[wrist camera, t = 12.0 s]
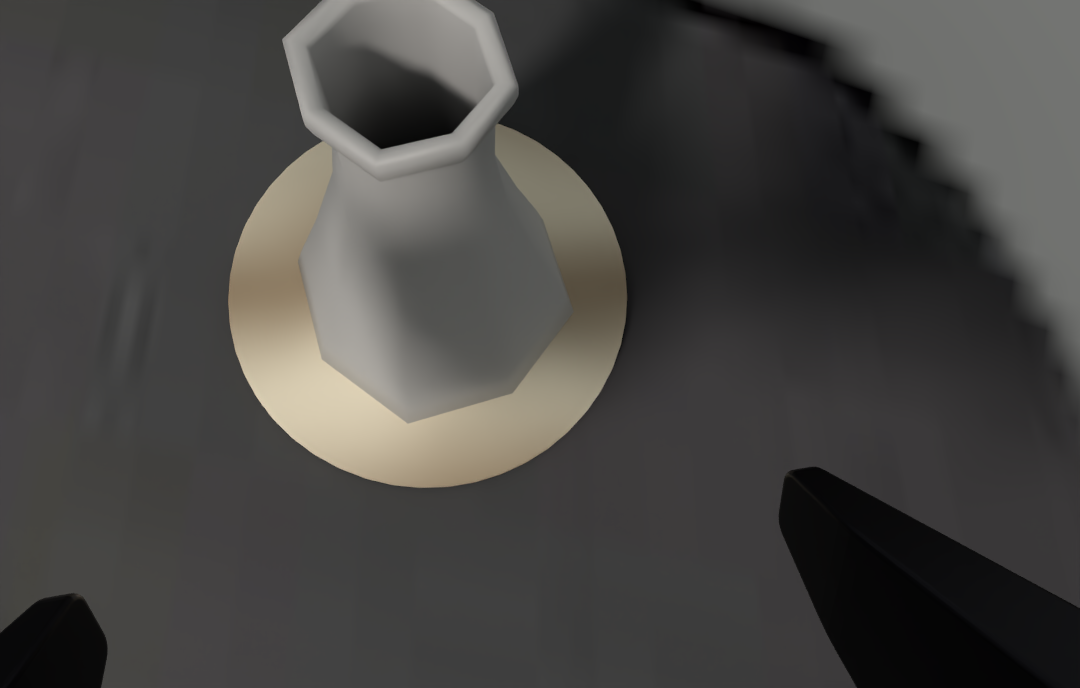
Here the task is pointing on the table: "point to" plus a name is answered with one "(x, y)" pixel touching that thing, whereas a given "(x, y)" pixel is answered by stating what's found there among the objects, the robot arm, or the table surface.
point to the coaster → (453, 437)
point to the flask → (420, 207)
